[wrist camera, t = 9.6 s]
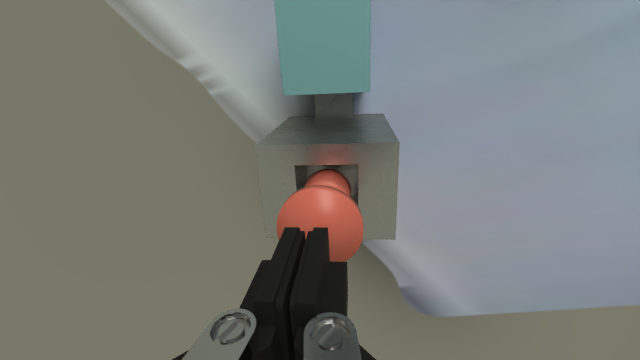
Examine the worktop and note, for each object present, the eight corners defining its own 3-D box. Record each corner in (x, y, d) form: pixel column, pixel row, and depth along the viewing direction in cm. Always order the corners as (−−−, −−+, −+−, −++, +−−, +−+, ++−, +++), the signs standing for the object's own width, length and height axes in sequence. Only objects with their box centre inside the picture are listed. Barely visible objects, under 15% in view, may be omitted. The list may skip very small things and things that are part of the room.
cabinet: (383, 113, 25) (399, 142, 16) (381, 180, 27) (395, 239, 18) (290, 116, 26) (254, 145, 17) (295, 180, 28) (266, 237, 19)
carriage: (365, -2, 22) (370, -35, 15) (365, 83, 24) (369, 91, 17) (298, 3, 22) (272, -26, 15) (304, 86, 25) (283, 95, 17)
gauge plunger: (361, 158, 17) (363, 190, 13) (361, 220, 18) (363, 267, 14) (292, 159, 17) (271, 190, 13) (297, 220, 19) (280, 265, 15)
